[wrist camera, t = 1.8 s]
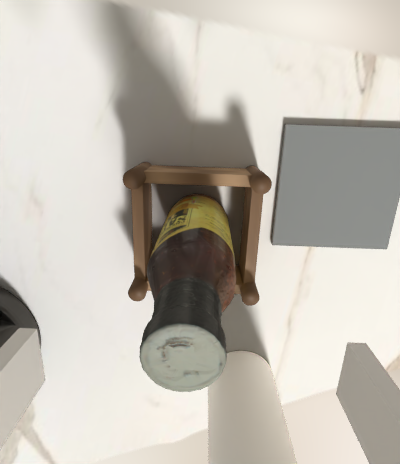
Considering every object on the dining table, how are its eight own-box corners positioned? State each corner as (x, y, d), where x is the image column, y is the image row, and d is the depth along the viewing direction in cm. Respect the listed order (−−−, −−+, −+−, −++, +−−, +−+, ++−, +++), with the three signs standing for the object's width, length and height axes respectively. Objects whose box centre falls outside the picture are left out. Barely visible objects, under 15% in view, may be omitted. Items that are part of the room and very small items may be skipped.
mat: (271, 243, 33) (272, 245, 33) (284, 124, 29) (286, 124, 29) (383, 247, 33) (386, 249, 33) (412, 128, 29) (416, 128, 29)
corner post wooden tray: (141, 272, 35) (128, 300, 29) (137, 161, 31) (122, 169, 25) (249, 276, 35) (258, 305, 29) (260, 166, 31) (272, 175, 25)
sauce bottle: (181, 181, 31) (145, 265, 12) (237, 206, 32) (282, 320, 13) (158, 237, 33) (96, 381, 14) (211, 259, 34) (218, 424, 15)
